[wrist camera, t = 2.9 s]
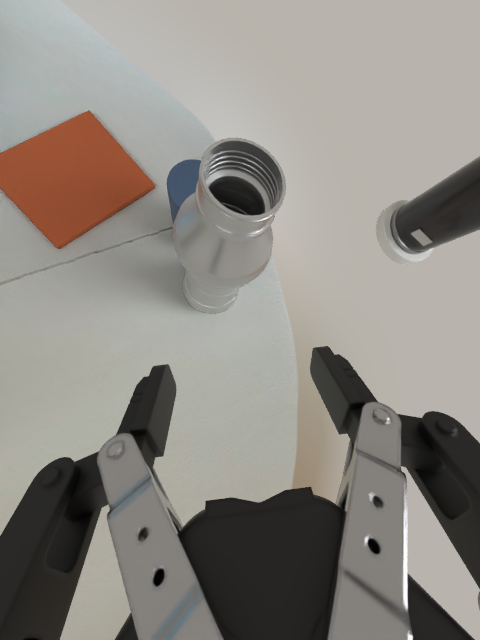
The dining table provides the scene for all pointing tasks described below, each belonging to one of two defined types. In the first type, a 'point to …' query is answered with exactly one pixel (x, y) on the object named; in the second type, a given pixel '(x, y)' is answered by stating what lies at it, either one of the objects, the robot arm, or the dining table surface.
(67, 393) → the dining table surface
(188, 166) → the blue canister
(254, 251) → the silver metal bottle
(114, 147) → the terracotta mat
